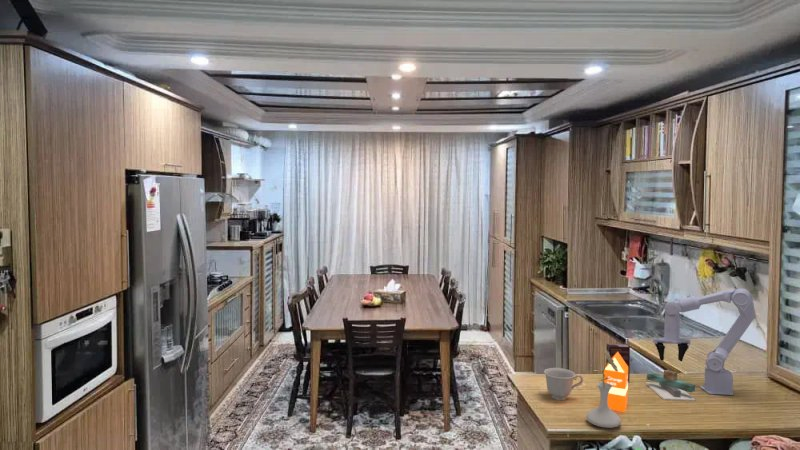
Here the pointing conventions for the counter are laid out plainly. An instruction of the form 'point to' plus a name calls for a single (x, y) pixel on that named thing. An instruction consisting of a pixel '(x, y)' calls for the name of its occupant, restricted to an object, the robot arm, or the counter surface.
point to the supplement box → (623, 351)
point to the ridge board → (667, 395)
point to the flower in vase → (604, 404)
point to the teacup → (561, 382)
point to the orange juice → (617, 384)
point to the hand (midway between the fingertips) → (670, 360)
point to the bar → (671, 380)
